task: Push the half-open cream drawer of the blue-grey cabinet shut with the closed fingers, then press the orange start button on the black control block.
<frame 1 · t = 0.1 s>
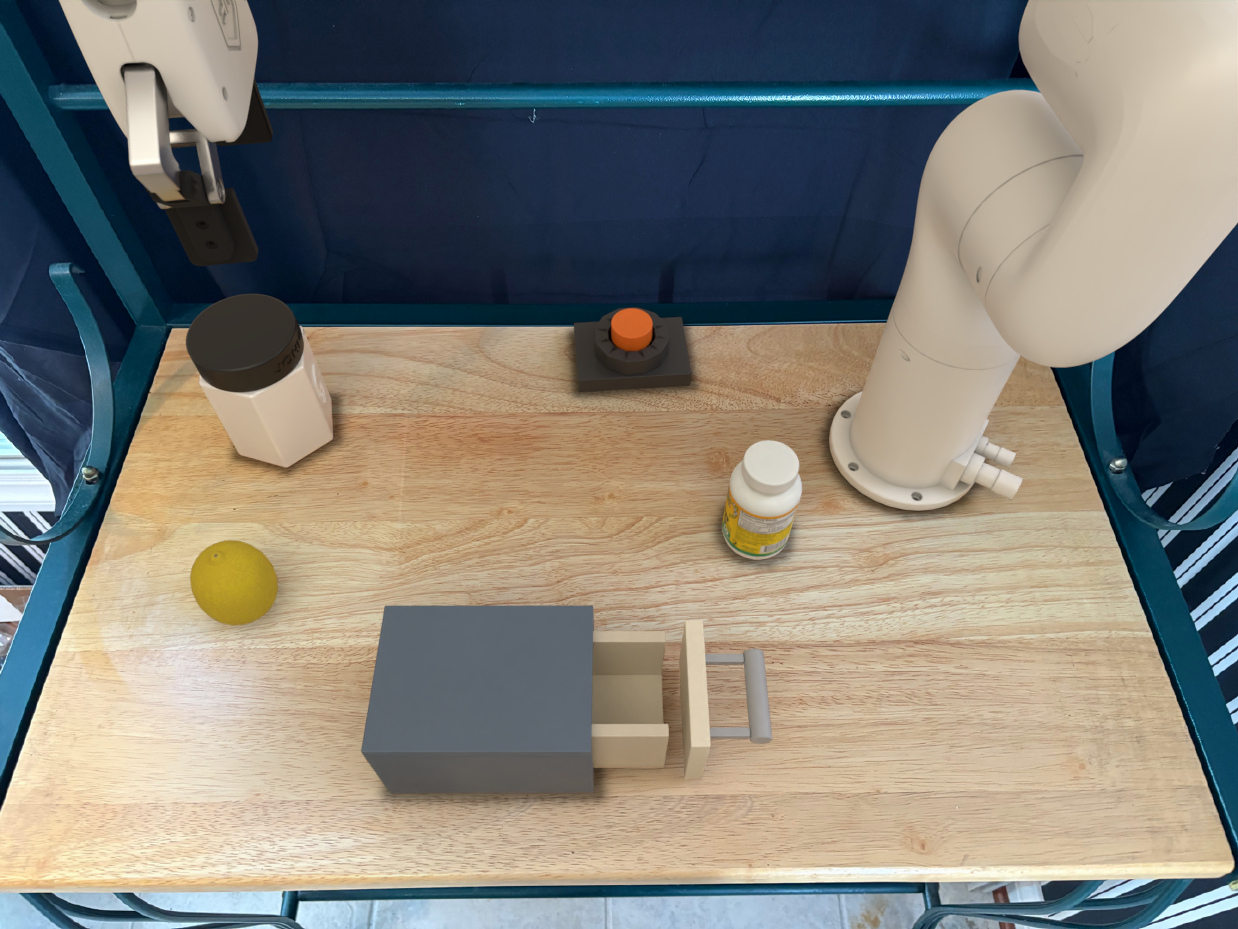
hand: (236, 197, 48), 31 cm above the table, tool pointing down, fingers open, 9 cm apart
start button: (631, 329, 80), point 4 cm above the table, slide at 0.1 cm
supplement bottle: (754, 533, 73), on the table
cabinet: (497, 723, 63), on the table
jar: (287, 429, 78), on the table
drawer: (639, 700, 60), point 4 cm above the table, slide at 6.0 cm
control block: (631, 360, 83), on the table
lemon: (254, 609, 69), on the table
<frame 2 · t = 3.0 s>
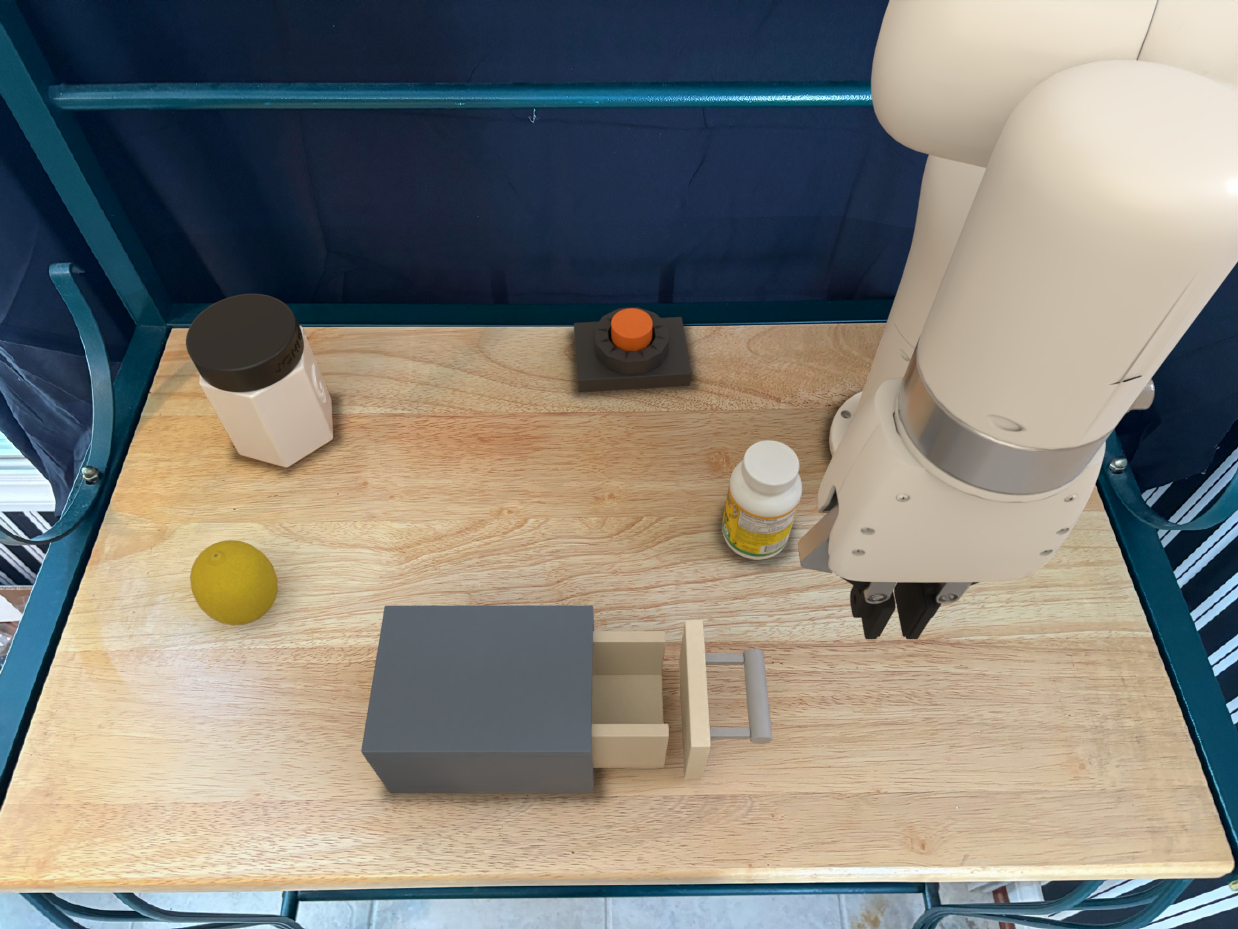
hand: (886, 613, 50), 17 cm above the table, tool pointing down, fingers closed
nothing on the table moved.
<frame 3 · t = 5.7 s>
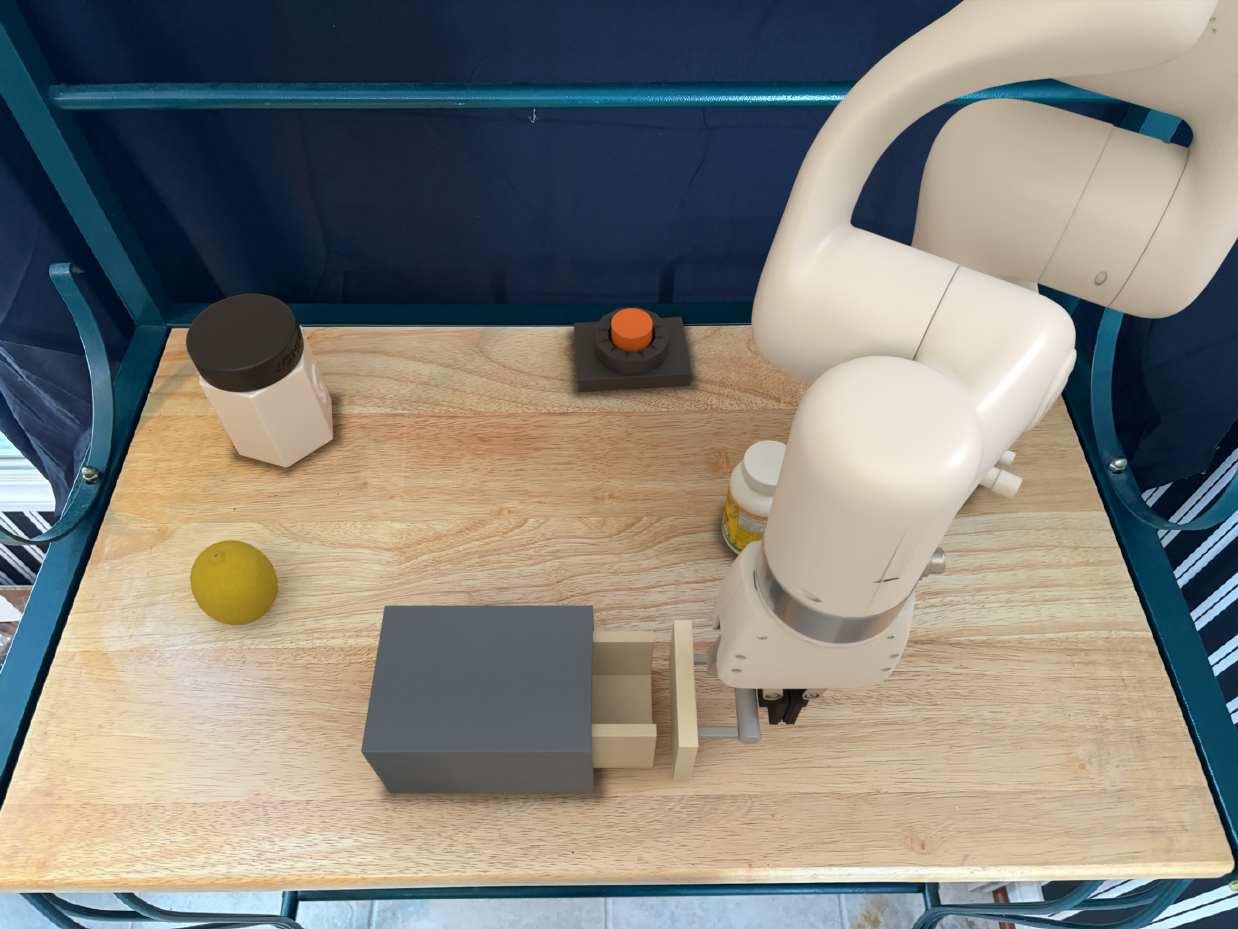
hand: (778, 702, 60), 4 cm above the table, tool pointing down, fingers closed
drawer: (628, 700, 60), point 4 cm above the table, slide at 5.2 cm, touching gripper
everything else where it was.
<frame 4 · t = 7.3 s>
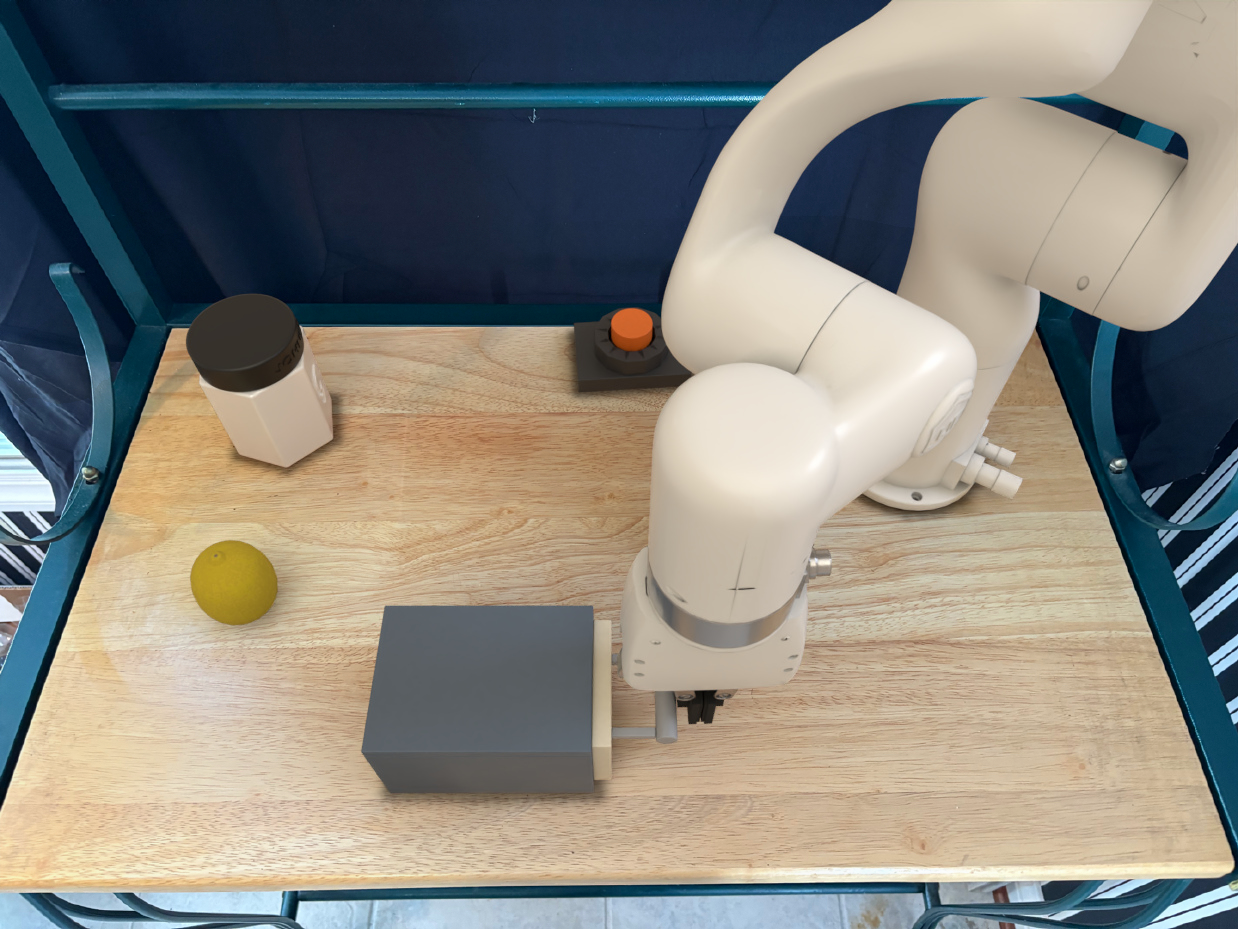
hand: (697, 701, 60), 4 cm above the table, tool pointing down, fingers closed
drawer: (548, 700, 60), point 4 cm above the table, slide at 0.0 cm, touching cabinet, gripper
everything else where it was.
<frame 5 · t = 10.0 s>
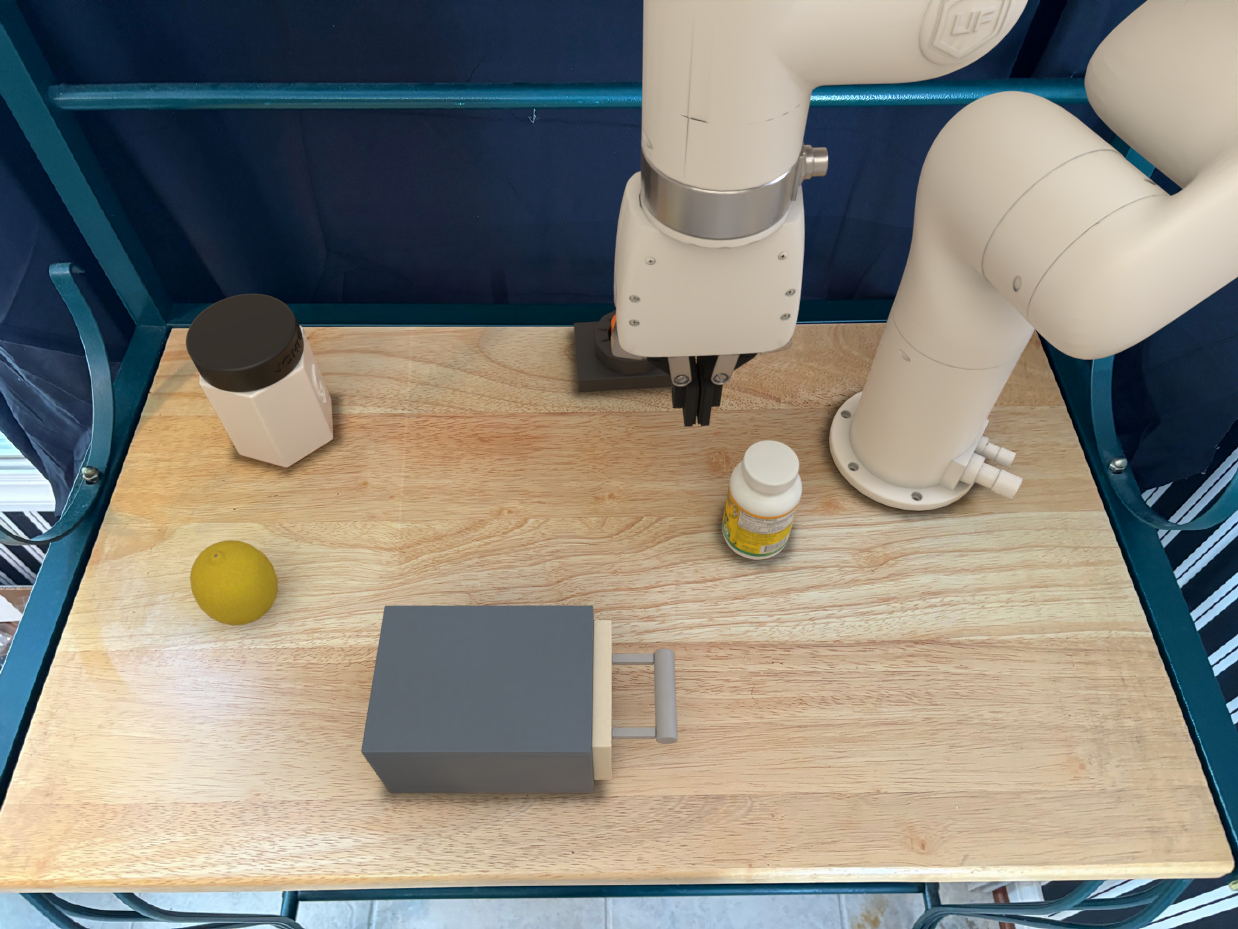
hand: (694, 408, 59), 16 cm above the table, tool pointing down, fingers closed
drawer: (548, 700, 60), point 4 cm above the table, slide at 0.0 cm, touching cabinet
everything else where it was.
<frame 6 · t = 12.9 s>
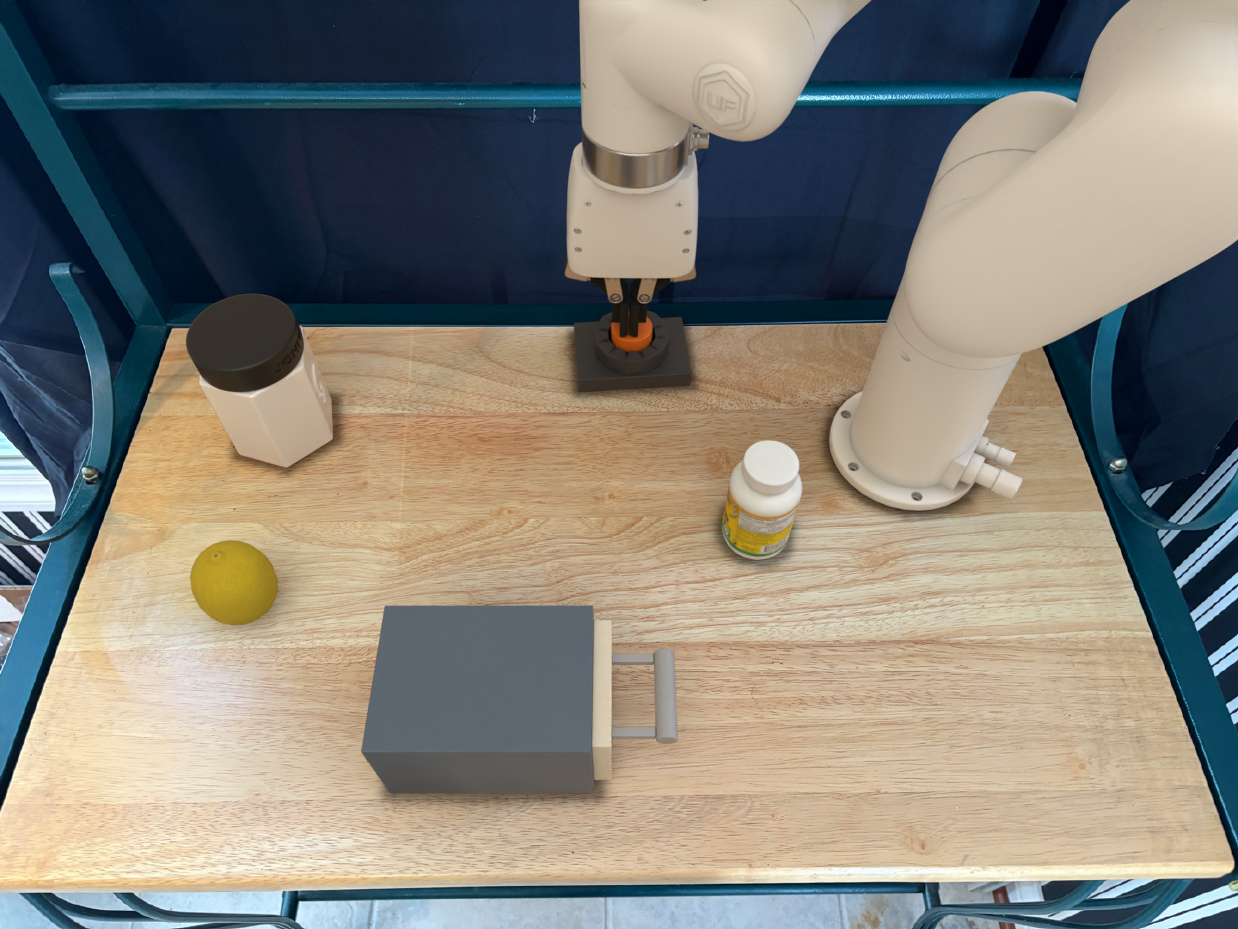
hand: (628, 324, 79), 4 cm above the table, tool pointing down, fingers closed
start button: (631, 333, 80), point 4 cm above the table, slide at -0.3 cm, touching gripper
everything else where it was.
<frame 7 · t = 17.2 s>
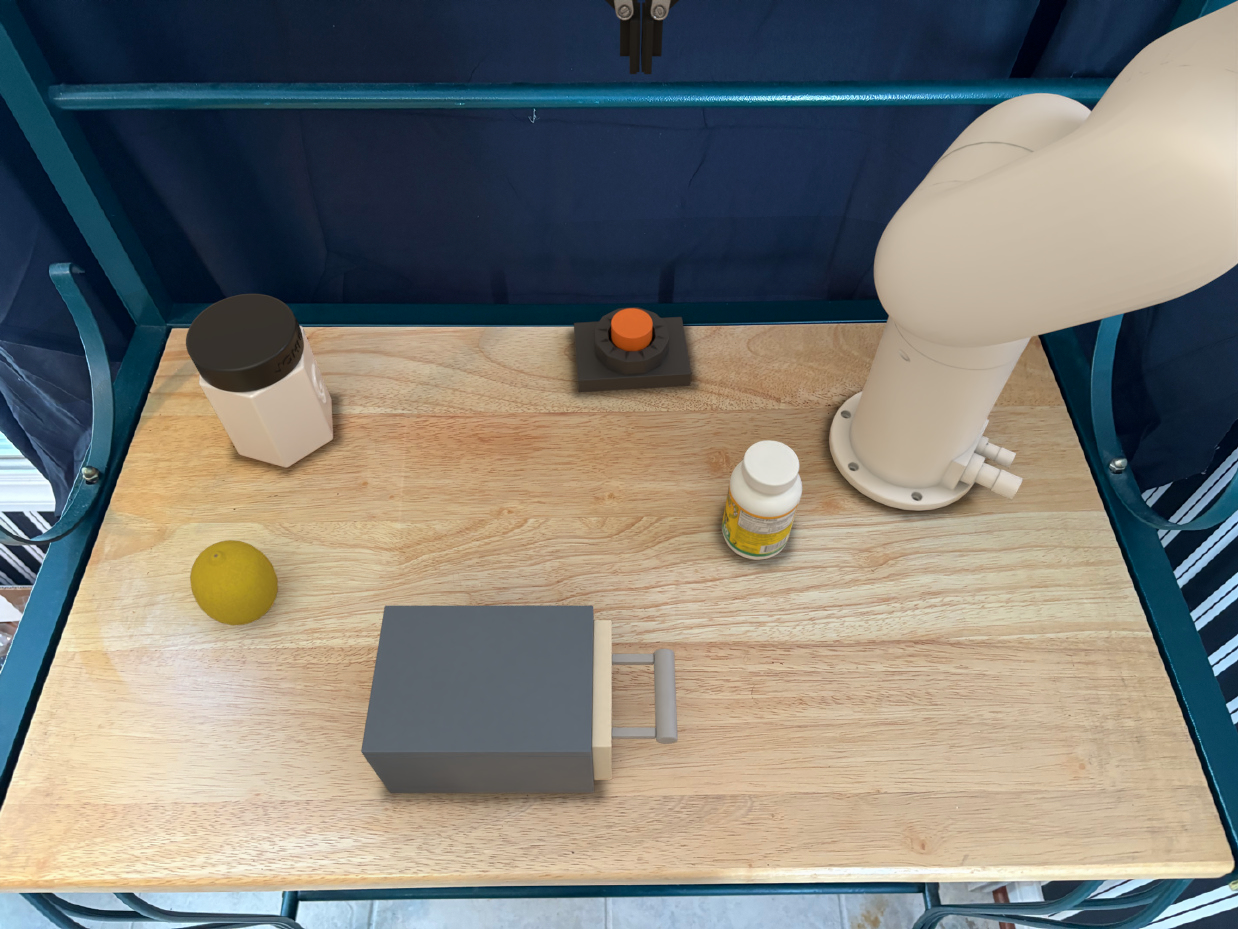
hand: (640, 63, 66), 25 cm above the table, tool pointing down, fingers closed
start button: (631, 329, 80), point 4 cm above the table, slide at 0.1 cm
everything else where it was.
at the end: drawer slide at 0.0 cm; start button pushed in 1.1 cm at the most during the clip, back to where it started at the end; start button slide at 0.1 cm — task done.
